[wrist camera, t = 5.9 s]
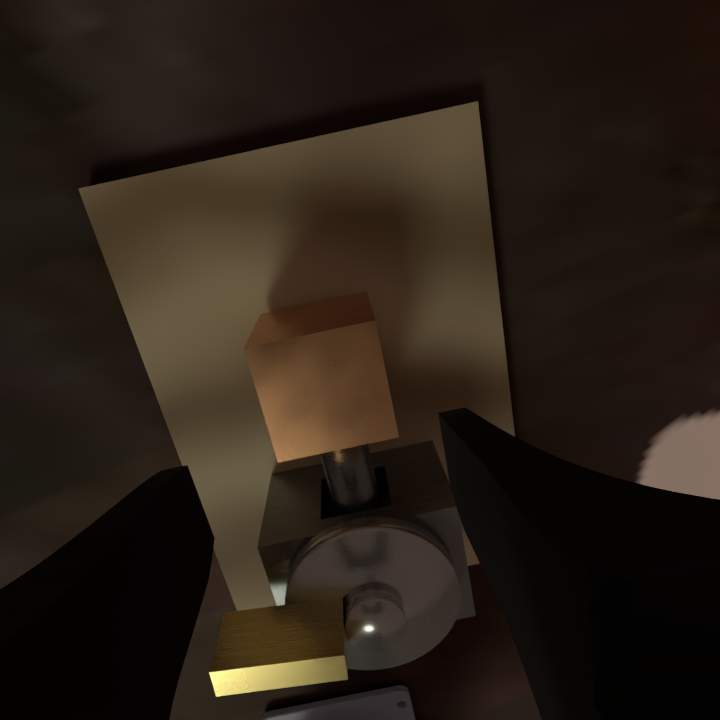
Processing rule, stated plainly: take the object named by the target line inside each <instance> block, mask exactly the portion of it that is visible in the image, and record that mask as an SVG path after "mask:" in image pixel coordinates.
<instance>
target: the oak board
mask: <svg viewBox="0 0 720 720" xmlns="http://www.w3.org/2000/svg"><path fill="white" fill-rule="evenodd" d="M79 192H80V195H81V197H82V200H83V203H84V205H85V208H86V211H87V213H88V216H89V219H90V221H91V224H92V227H93V229H94V232H95V235H96V237H97V240H98V243H99V245H100V248H101V251H102V253H103V256H104V259H105V261H106V264H107V267H108V269H109V272H110V274H111V277H112V280H113V282H114V285H115V288H116V290H117V293H118V296H119V298H120V301H121V304H122V306H123V309H124V312H125V314H126V317H127V320H128V322H129V325H130V328H131V330H132V333H133V336H134V338H135V341H136V344H137V346H138V349H139V352H140V354H141V357H142V360H143V362H144V365H145V367H146V370H147V373H148V375H149V378H150V381H151V383H152V386H153V389H154V391H155V394H156V397H157V399H158V402H159V405H160V407H161V410H162V413H163V415H164V418H165V421H166V423H167V426H168V429H169V431H170V434H171V437H172V439H173V442H174V445H175V447H176V450H177V453H178V455H179V458H180V461H181V463H182V466H186V465H188V468H189V471H190V473H191V476H192V479H193V481H194V484H195V487H196V489H197V492H198V495H199V497H200V500H201V503H202V506H203V508H204V511H205V514H206V516H207V519H208V522H209V524H210V527H211V530H212V532H213V535H214V538H215V539H214V547H213V548H214V551H215V554H216V556H217V559H218V561H219V564H220V567H221V569H222V572H223V575H224V577H225V580H226V583H227V585H228V588H229V591H230V593H231V596H232V599H233V601H234V604H235V607H236V609H237V611H240V610H247V609H255V608H263V607H269V606H274V605H277V604H276V601H275V598H274V595H273V593H272V590H271V587H270V584H269V581H268V578H267V575H266V572H265V569H264V566H263V563H262V560H261V557H260V554H259V551H258V548H257V546H258V541H259V536H260V531H261V525H262V520H263V515H264V510H265V505H266V500H267V495H268V489H269V484H270V479H271V474H273V473H278V472H283V471H287V470H292V469H297V468H302V467H307V466H311V465H316V464H321V463H322V460H321V456H320V454H317V455H312V456H307V457H303V458H298V459H293V460H288V461H283V462H279V463H278V461H277V458H276V454H275V451H274V448H273V444H272V441H271V438H270V434H269V431H268V428H267V424H266V421H265V418H264V414H263V411H262V408H261V404H260V401H259V398H258V394H257V391H256V388H255V384H254V381H253V378H252V374H251V371H250V368H249V364H248V361H247V358H246V354H245V351H244V346H245V344H246V342H247V340H248V338H249V336H250V334H251V332H252V330H253V328H254V326H255V324H256V322H257V320H258V318H259V316H260V314H262V313H267V312H272V311H276V310H281V309H286V308H290V307H295V306H300V305H305V304H309V303H314V302H319V301H323V300H328V299H333V298H337V297H342V296H347V295H351V294H356V293H361V292H365V291H367V295H368V298H369V301H370V304H371V307H372V310H373V314H374V317H375V320H376V325H377V330H378V335H379V340H380V345H381V350H382V355H383V360H384V365H385V370H386V375H387V380H388V385H389V390H390V395H391V400H392V405H393V410H394V415H395V420H396V425H397V430H398V435H399V438H394V439H389V440H384V441H380V442H375V443H370V444H368V446H369V450H370V453H374V452H379V451H384V450H388V449H393V448H398V447H403V446H408V445H413V444H417V443H422V442H427V441H433V443H434V446H435V448H436V451H437V453H438V456H439V459H440V461H441V464H442V466H443V469H444V472H445V474H446V477H447V479H448V482H449V476H448V470H447V464H446V458H445V452H444V446H443V440H442V434H441V428H440V422H439V416H438V413H440V412H445V411H450V410H454V409H459V408H464V407H465V408H467V409H469V410H471V411H472V412H474V413H475V414H477V415H479V416H480V417H482V418H484V419H485V420H487V421H488V422H490V423H492V424H493V425H495V426H497V427H499V428H500V429H502V430H504V431H505V432H507V433H509V434H511V435H513V436H514V437H515V432H514V423H513V414H512V405H511V396H510V387H509V378H508V369H507V360H506V351H505V342H504V333H503V324H502V314H501V305H500V296H499V287H498V278H497V269H496V260H495V251H494V242H493V233H492V224H491V215H490V206H489V196H488V187H487V178H486V169H485V160H484V151H483V142H482V133H481V124H480V115H479V106H478V101H477V102H472V103H468V104H463V105H458V106H454V107H449V108H445V109H440V110H436V111H431V112H426V113H422V114H417V115H413V116H408V117H404V118H399V119H394V120H390V121H385V122H381V123H376V124H372V125H367V126H362V127H358V128H353V129H349V130H344V131H340V132H335V133H330V134H326V135H321V136H317V137H312V138H308V139H303V140H298V141H294V142H289V143H285V144H280V145H276V146H271V147H266V148H262V149H257V150H253V151H248V152H243V153H239V154H234V155H230V156H225V157H221V158H216V159H211V160H207V161H202V162H198V163H193V164H189V165H184V166H179V167H175V168H170V169H166V170H161V171H157V172H152V173H147V174H143V175H138V176H134V177H129V178H125V179H120V180H115V181H111V182H106V183H102V184H97V185H93V186H88V187H83V188H79ZM449 484H450V482H449ZM460 522H461V520H460ZM461 528H462V534H463V540H464V546H465V553H466V559H467V565H468V566H470V565H475V564H480V563H479V561H478V559H477V556H476V554H475V552H474V550H473V548H472V546H471V544H470V541H469V539H468V537H467V535H466V533H465V530H464V528H463V526H462V523H461Z"/></svg>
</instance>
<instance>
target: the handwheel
mask: <svg viewBox="0 0 720 720" xmlns="http://www.w3.org/2000/svg"><path fill="white" fill-rule="evenodd" d="M460 604H461V591H460V584H459V581H458V578H457V575H456V572H455V568H454V565H453V562H452V559H451V557H450V555H449V553H448V551H447V550H446V549H445V547H444V546H443V544H442V543H441V542H440V541H439V540H438V539H437V538H436V537H435V536H433V535H432V534H431V533H429V532H428V531H427V530H425V529H423V528H421V527H420V526H418V525H415V524H413V523H410V522H408V521H404V520H400V519H396V518H389V517H362V518H357V519H351V520H348V521H344V522H341V523H338V524H336V525H334V526H331V527H329V528H327V529H326V530H324V531H322V532H320V533H319V534H318V535H316V536H315V537H313V538H312V539H311V540H310V541H309V542H308V543H307V544H306V545H305V546H304V547H303V548H302V549H301V550H300V552H299V553H298V554H297V556H296V557H295V559H294V561H293V563H292V565H291V568H290V570H289V573H288V578H287V585H286V594H285V605H279V606H271V607H263V608H255V609H247V610H240V611H232V612H224V614H223V618H222V622H221V626H220V630H219V635H218V639H217V643H216V647H215V651H214V655H213V659H212V663H211V668H210V672H209V673H210V677H211V680H212V684H213V687H214V691H215V694H216V696H224V695H232V694H240V693H247V692H255V691H263V690H271V689H278V688H286V687H294V686H302V685H310V684H317V683H325V682H333V681H341V680H348V669H355V670H379V669H386V668H392V667H396V666H399V665H403V664H405V663H408V662H410V661H413V660H415V659H417V658H419V657H421V656H423V655H424V654H426V653H427V652H429V651H430V650H432V649H433V648H434V647H435V646H437V645H438V644H439V643H440V642H441V641H442V640H443V639H444V638H445V637H446V635H447V634H448V633H449V631H450V630H451V628H452V626H453V625H454V623H455V621H456V618H457V616H458V613H459V609H460Z"/></svg>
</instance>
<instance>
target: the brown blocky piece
mask: <svg viewBox="0 0 720 720" xmlns="http://www.w3.org/2000/svg"><path fill="white" fill-rule="evenodd" d="M244 351H245V354H246V358H247V361H248V364H249V368H250V371H251V374H252V378H253V381H254V384H255V388H256V391H257V394H258V398H259V401H260V404H261V408H262V411H263V414H264V418H265V421H266V424H267V428H268V431H269V434H270V438H271V441H272V444H273V448H274V451H275V454H276V458H277V461H278V463H279V462H283V461H288V460H293V459H298V458H303V457H307V456H312V455H317V454H320V456H321V460H322V464H323V468H324V471H325V475H326V479H327V483H328V487H329V490H330V494H331V498H332V502H333V505H334V509H335V513H336V516H341V515H346V514H351V513H356V512H360V511H365V510H370V509H375V508H380V507H382V504H381V499H380V495H379V490H378V486H377V481H376V477H375V472H374V468H373V464H372V459H371V455H370V450H369V446H368V444H370V443H375V442H380V441H384V440H389V439H394V438H399V435H398V430H397V425H396V420H395V415H394V410H393V405H392V400H391V395H390V390H389V385H388V380H387V375H386V370H385V365H384V360H383V355H382V350H381V345H380V340H379V335H378V330H377V325H376V320H375V317H374V314H373V310H372V307H371V304H370V301H369V298H368V295H367V291H365V292H361V293H356V294H351V295H347V296H342V297H337V298H333V299H328V300H323V301H319V302H314V303H309V304H305V305H300V306H295V307H290V308H286V309H281V310H276V311H272V312H267V313H262V314H260V316H259V318H258V320H257V322H256V324H255V326H254V328H253V330H252V332H251V334H250V336H249V338H248V340H247V342H246V344H245V346H244Z"/></svg>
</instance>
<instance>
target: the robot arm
mask: <svg viewBox="0 0 720 720" xmlns="http://www.w3.org/2000/svg"><path fill="white" fill-rule="evenodd" d="M438 416H439V422H440V428H441V434H442V440H443V446H444V452H445V458H446V464H447V470H448V476H449V482H450V488H451V492H452V495H453V498H454V501H455V504H456V508H457V511H458V514H459V517H460V520H461V523H462V526H463V528H464V530H465V533H466V535H467V537H468V539H469V541H470V544H471V546H472V548H473V550H474V552H475V554H476V556H477V559H478V561H479V563H480V565H481V567H482V569H483V571H484V573H485V576H486V578H487V580H488V582H489V584H490V586H491V588H492V590H493V592H494V595H495V597H496V599H497V601H498V603H499V605H500V607H501V609H502V612H503V614H504V616H505V619H506V621H507V623H508V626H509V628H510V631H511V633H512V636H513V639H514V641H515V644H516V647H517V650H518V653H519V655H520V658H521V661H522V664H523V667H524V669H525V672H526V675H527V678H528V681H529V684H530V686H531V689H532V692H533V695H534V698H535V701H536V704H537V707H538V710H539V712H540V715H541V718H542V720H720V500H718V499H711V498H705V497H699V496H694V495H688V494H683V493H677V492H672V491H667V490H663V489H658V488H653V487H649V486H645V485H641V484H637V483H634V482H630V481H626V480H622V479H618V478H615V477H611V476H608V475H605V474H602V473H598V472H595V471H593V470H590V469H587V468H584V467H581V466H579V465H576V464H573V463H570V462H568V461H565V460H563V459H560V458H558V457H556V456H553V455H551V454H549V453H547V452H545V451H542V450H540V449H538V448H536V447H534V446H532V445H530V444H528V443H526V442H524V441H522V440H520V439H518V438H516V437H514V436H513V435H511V434H509V433H507V432H505V431H504V430H502V429H500V428H499V427H497V426H495V425H493V424H492V423H490V422H488V421H487V420H485V419H484V418H482V417H480V416H479V415H477V414H475V413H474V412H472V411H471V410H469V409H467V408H465V407H464V408H459V409H454V410H450V411H445V412H440V413H438ZM214 539H215V538H214V535H213V532H212V530H211V527H210V524H209V522H208V519H207V516H206V514H205V511H204V508H203V506H202V503H201V500H200V497H199V495H198V492H197V489H196V487H195V484H194V481H193V479H192V476H191V473H190V471H189V468H188V465H186V466H181V467H176V468H172V469H167V470H162V471H160V472H158V473H157V474H155V475H153V476H152V477H151V478H149V479H148V480H146V481H145V482H144V483H142V484H141V485H140V486H139V487H137V488H136V489H135V490H133V491H132V492H131V493H130V494H128V495H127V496H126V497H125V498H123V499H122V500H121V501H120V502H119V503H117V504H116V505H115V506H114V507H112V508H111V509H110V510H109V511H107V512H106V513H105V514H104V515H102V516H101V517H100V518H99V519H97V520H96V521H95V522H94V523H92V524H91V525H90V526H89V527H87V528H86V529H85V530H83V531H82V532H81V533H79V534H78V535H77V536H75V537H74V538H73V539H72V540H70V541H69V542H68V543H66V544H65V545H64V546H62V547H61V548H60V549H58V550H57V551H56V552H54V553H53V554H52V555H50V556H49V557H48V558H46V559H45V560H43V561H42V562H41V563H39V564H38V565H36V566H35V567H33V568H32V569H31V570H29V571H28V572H26V573H25V574H23V575H22V576H20V577H19V578H17V579H16V580H14V581H13V582H11V583H9V584H8V585H6V586H5V587H3V588H2V589H0V720H169V719H170V713H171V708H172V703H173V699H174V695H175V691H176V688H177V684H178V680H179V676H180V673H181V670H182V666H183V663H184V660H185V656H186V653H187V650H188V647H189V643H190V640H191V637H192V634H193V630H194V627H195V624H196V620H197V617H198V614H199V610H200V607H201V604H202V600H203V597H204V593H205V590H206V586H207V583H208V579H209V573H210V567H211V562H212V554H213V547H214ZM263 720H416V719H415V715H414V710H413V706H412V702H411V698H410V694H409V690H408V688H407V687H405V686H403V685H397V686H392V687H387V688H382V689H377V690H372V691H367V692H362V693H357V694H352V695H347V696H342V697H337V698H332V699H327V700H322V701H317V702H312V703H307V704H302V705H297V706H292V707H287V708H282V709H277V710H272V711H268V712H266V713H265V714H264V716H263Z"/></svg>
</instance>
